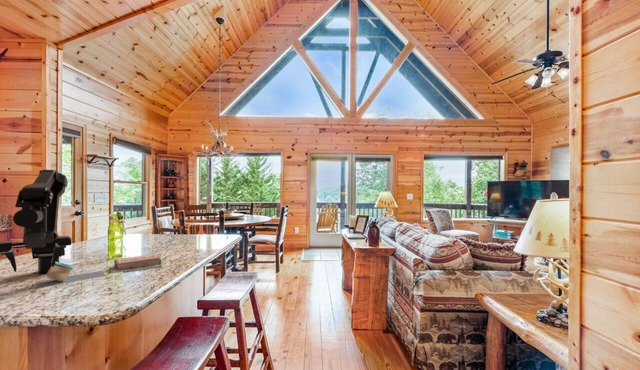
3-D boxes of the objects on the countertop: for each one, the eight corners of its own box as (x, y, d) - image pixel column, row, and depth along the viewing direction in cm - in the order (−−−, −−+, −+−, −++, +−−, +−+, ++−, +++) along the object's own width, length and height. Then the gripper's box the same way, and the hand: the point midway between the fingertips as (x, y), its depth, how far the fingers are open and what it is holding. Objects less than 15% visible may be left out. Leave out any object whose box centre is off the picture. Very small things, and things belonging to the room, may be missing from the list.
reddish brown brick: (158, 252, 133) (162, 256, 125) (158, 262, 133) (162, 268, 125) (110, 257, 123) (110, 263, 115) (110, 269, 123) (110, 275, 115)
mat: (36, 289, 98) (36, 287, 98) (35, 282, 104) (35, 281, 104) (106, 276, 111) (106, 275, 111) (101, 271, 118) (101, 270, 118)
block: (47, 278, 101) (56, 263, 102) (46, 274, 104) (54, 261, 106) (64, 281, 104) (72, 267, 106) (62, 278, 107) (70, 265, 109)
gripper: (-7, 228, 88) (-8, 280, 88) (73, 223, 102) (73, 268, 101) (-5, 224, 96) (-6, 272, 96) (69, 220, 109) (69, 262, 109)
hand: (34, 268), depth 100 cm, fingers open, 9 cm apart
